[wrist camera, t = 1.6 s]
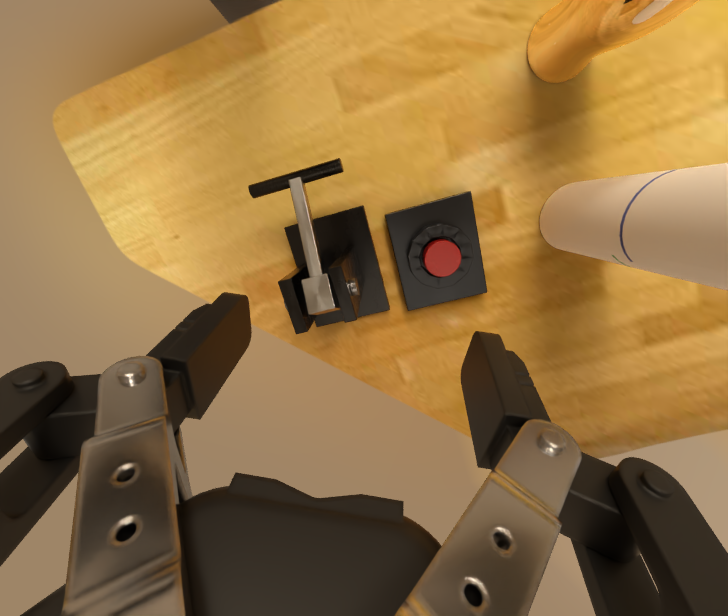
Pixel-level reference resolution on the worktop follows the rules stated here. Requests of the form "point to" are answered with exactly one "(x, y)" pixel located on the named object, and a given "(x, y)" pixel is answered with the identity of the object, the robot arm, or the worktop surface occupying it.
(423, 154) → the worktop surface
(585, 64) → the beer glass
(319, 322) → the lever bracket
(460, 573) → the robot arm
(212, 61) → the worktop surface
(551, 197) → the cylindrical container
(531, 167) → the worktop surface
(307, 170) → the lever
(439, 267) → the button
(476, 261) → the block
